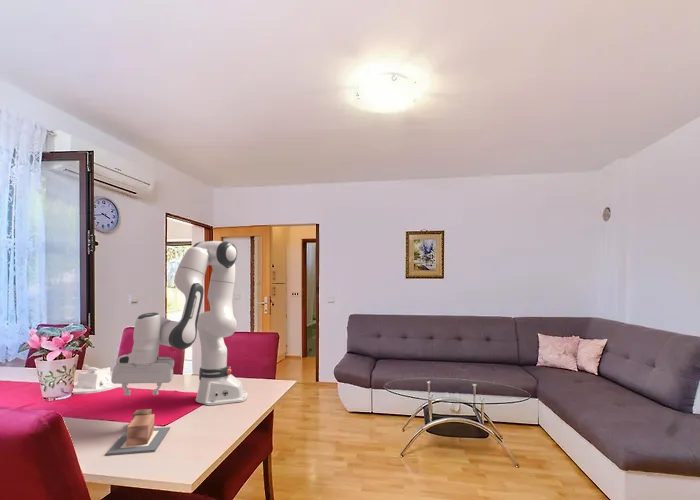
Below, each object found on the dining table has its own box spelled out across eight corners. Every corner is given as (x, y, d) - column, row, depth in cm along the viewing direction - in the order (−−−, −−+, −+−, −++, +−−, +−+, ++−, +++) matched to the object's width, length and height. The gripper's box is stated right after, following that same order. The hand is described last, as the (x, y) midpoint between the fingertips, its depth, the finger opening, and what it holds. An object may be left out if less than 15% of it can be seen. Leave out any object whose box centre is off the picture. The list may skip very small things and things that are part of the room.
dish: (94, 396, 168) (96, 371, 169) (49, 392, 173) (51, 368, 174) (135, 381, 193) (136, 359, 194) (94, 378, 197) (95, 357, 198)
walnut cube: (150, 422, 139) (151, 409, 139) (146, 427, 134) (147, 413, 134) (136, 423, 137) (137, 409, 138) (131, 428, 133) (132, 414, 133)
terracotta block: (153, 431, 129) (154, 414, 129) (147, 444, 119) (148, 425, 119) (134, 433, 127) (135, 415, 127) (126, 446, 117) (127, 427, 118)
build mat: (170, 428, 133) (170, 426, 133) (154, 451, 116) (155, 449, 116) (127, 431, 130) (127, 429, 130) (105, 455, 113) (105, 453, 113)
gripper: (176, 355, 143) (173, 392, 141) (118, 355, 138) (114, 393, 137) (172, 358, 136) (169, 396, 135) (111, 358, 132) (107, 398, 131)
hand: (141, 395), depth 136 cm, fingers open, 8 cm apart
